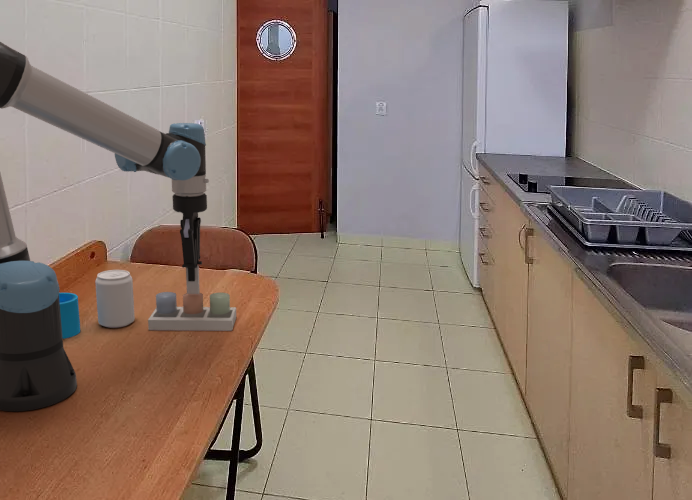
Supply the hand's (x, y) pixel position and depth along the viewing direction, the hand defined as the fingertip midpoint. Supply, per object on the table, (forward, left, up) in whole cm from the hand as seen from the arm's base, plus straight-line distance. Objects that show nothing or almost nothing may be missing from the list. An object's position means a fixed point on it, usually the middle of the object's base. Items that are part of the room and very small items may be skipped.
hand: (193, 292), depth 154 cm
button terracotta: (0, 0, -4) cm, 4 cm away
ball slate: (-3, +5, -4) cm, 8 cm away
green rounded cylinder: (+3, -5, -4) cm, 8 cm away
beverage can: (-9, +16, -8) cm, 20 cm away
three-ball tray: (0, 0, -8) cm, 8 cm away
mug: (-18, +23, -8) cm, 30 cm away
